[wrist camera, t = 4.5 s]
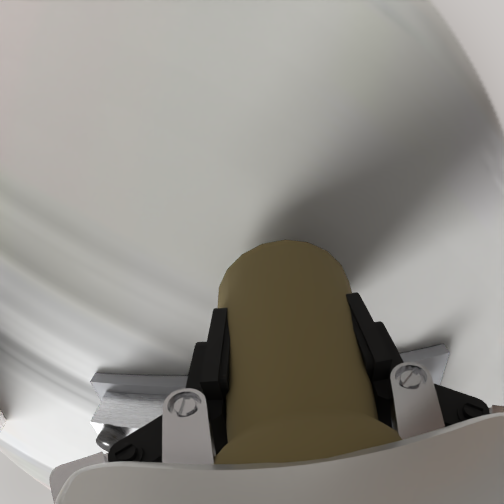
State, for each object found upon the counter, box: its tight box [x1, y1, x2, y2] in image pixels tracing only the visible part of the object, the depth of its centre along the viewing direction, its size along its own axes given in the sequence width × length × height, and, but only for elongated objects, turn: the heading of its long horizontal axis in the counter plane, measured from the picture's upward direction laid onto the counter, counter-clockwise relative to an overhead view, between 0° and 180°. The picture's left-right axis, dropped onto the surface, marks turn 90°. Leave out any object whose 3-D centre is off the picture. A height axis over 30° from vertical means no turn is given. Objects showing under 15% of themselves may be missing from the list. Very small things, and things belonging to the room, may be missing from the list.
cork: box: [214, 240, 403, 464], centre depth 9 cm, size 6×6×11 cm
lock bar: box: [90, 392, 169, 452], centre depth 16 cm, size 2×10×4 cm, turn 96°
